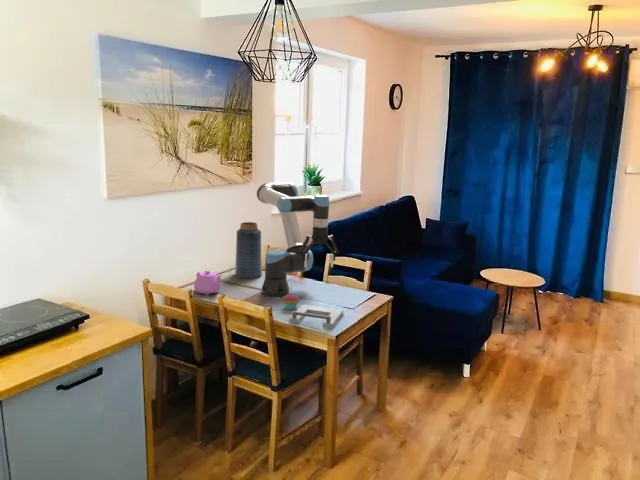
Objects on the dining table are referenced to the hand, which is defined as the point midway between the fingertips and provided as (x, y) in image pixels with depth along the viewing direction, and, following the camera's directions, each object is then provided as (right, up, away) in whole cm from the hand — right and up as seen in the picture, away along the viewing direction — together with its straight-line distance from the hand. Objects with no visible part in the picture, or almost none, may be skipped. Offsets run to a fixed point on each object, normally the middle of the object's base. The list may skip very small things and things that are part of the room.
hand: (318, 266), depth 267 cm
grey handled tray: (-1, -24, -15) cm, 28 cm away
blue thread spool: (-43, -8, +50) cm, 66 cm away
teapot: (-59, -15, +15) cm, 63 cm away
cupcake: (-14, -21, -3) cm, 25 cm away
